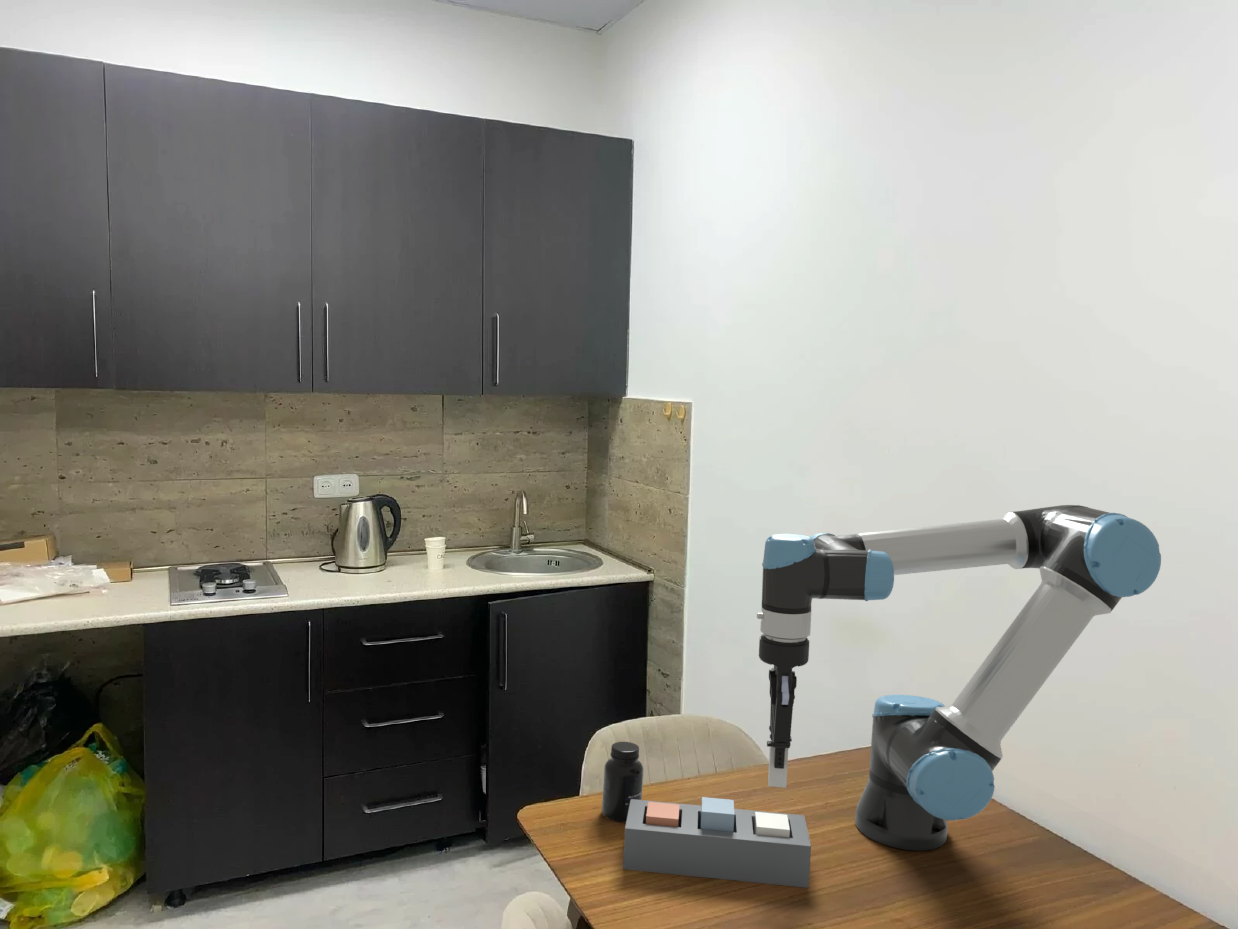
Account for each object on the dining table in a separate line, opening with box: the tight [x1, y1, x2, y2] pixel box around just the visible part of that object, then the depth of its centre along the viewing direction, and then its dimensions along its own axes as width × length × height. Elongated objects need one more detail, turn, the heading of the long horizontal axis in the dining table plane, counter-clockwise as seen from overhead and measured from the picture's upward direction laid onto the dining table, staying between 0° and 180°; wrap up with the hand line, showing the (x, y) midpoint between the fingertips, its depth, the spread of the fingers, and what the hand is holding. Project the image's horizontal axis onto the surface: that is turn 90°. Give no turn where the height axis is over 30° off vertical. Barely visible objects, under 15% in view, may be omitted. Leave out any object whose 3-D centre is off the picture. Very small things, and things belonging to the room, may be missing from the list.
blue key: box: [700, 796, 735, 832], centre depth 141 cm, size 5×5×5 cm
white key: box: [754, 812, 790, 838], centre depth 140 cm, size 5×5×5 cm
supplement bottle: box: [601, 741, 644, 823], centre depth 155 cm, size 7×7×12 cm
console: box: [622, 799, 812, 889], centre depth 141 cm, size 28×10×6 cm, turn 84°
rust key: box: [646, 801, 679, 827], centre depth 142 cm, size 5×5×5 cm
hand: (777, 784), depth 139 cm, fingers closed
